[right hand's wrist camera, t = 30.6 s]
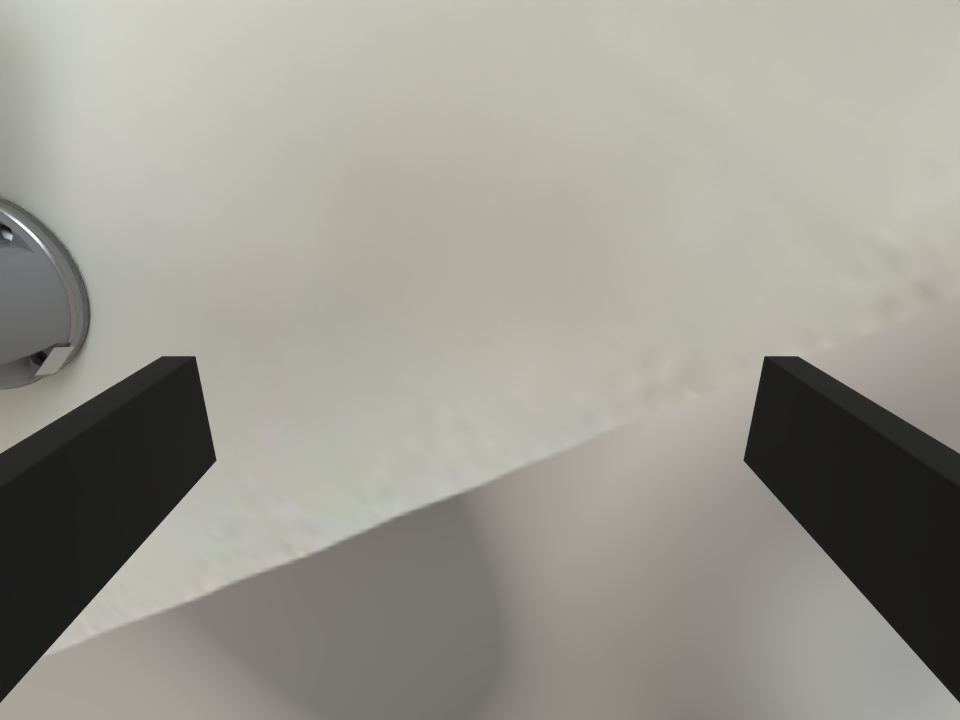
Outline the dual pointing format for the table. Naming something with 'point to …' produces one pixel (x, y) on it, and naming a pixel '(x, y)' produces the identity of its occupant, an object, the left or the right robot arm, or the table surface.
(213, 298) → the table surface
